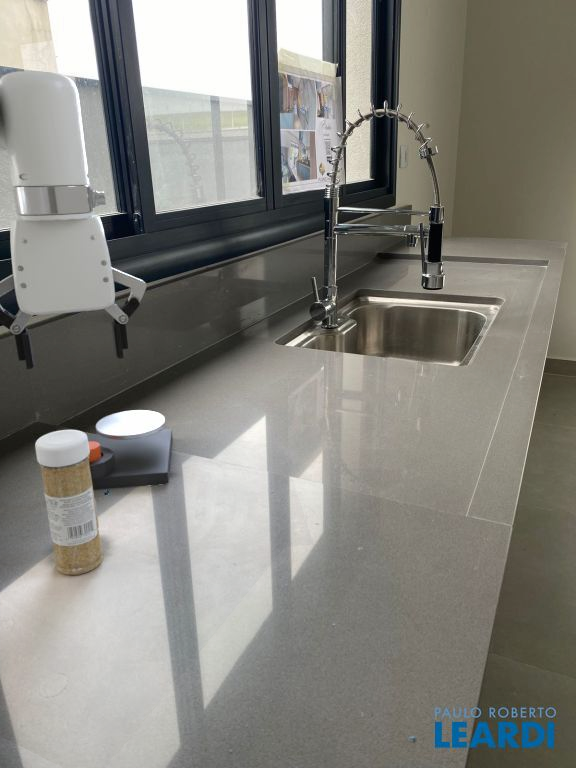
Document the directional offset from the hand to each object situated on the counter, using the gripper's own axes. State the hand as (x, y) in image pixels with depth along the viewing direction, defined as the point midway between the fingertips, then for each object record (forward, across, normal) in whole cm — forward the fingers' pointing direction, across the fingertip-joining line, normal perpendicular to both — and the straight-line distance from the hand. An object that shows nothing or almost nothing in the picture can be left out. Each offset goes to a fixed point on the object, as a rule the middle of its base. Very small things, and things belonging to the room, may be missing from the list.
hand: (75, 360), depth 69 cm
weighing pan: (+13, -6, -7) cm, 16 cm away
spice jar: (+16, +2, +16) cm, 23 cm away
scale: (+16, -4, -5) cm, 18 cm away
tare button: (+13, 0, -2) cm, 13 cm away
